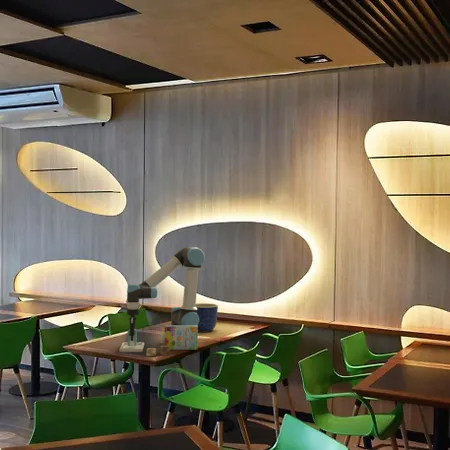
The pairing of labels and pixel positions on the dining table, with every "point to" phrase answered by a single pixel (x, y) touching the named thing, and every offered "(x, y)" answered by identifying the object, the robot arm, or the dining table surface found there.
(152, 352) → the beech block
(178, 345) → the snack box
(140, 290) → the robot arm
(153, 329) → the dining table surface
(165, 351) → the walnut cube
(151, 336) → the dining table surface
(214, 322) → the planter
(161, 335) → the grey-brown upright piece
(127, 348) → the tray
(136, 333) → the teal block
